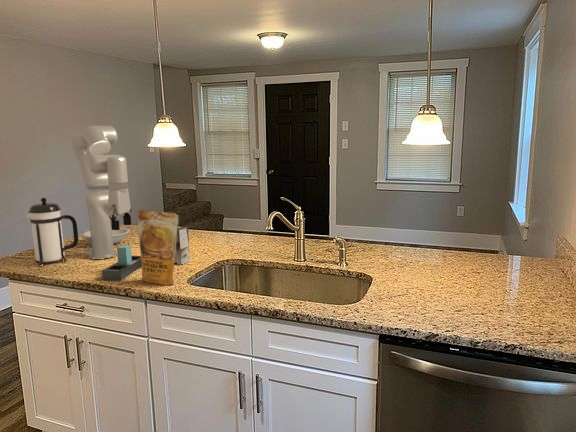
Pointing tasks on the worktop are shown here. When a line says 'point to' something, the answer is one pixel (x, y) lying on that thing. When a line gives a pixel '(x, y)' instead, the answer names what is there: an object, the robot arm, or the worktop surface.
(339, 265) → the worktop surface
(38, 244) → the coffee press
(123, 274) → the rail
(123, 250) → the peg
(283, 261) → the worktop surface
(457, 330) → the worktop surface
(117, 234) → the soup bowl
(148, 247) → the pancake mix bag
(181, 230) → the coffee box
